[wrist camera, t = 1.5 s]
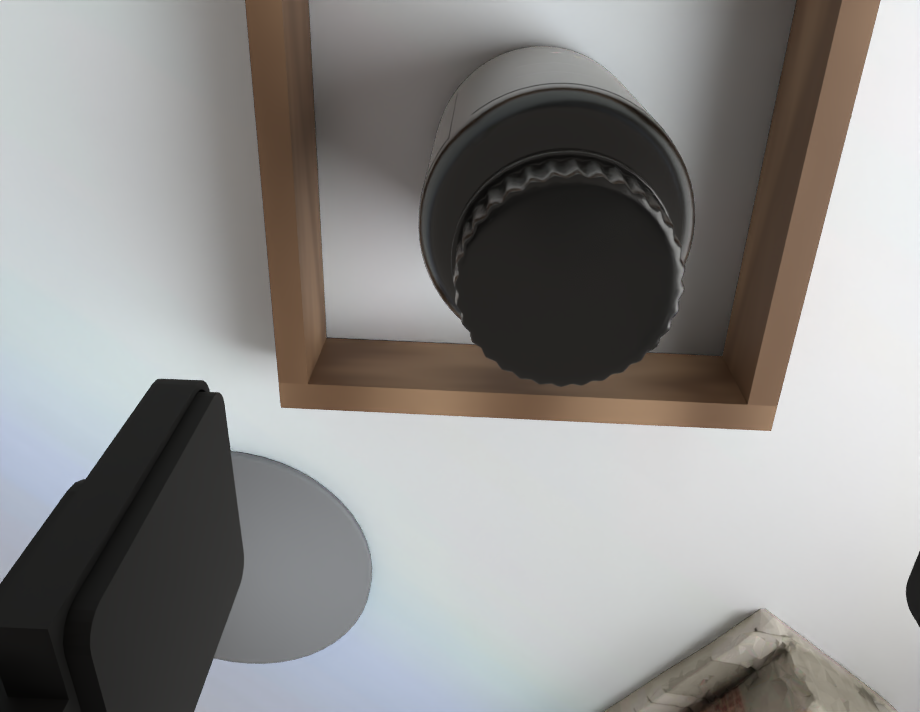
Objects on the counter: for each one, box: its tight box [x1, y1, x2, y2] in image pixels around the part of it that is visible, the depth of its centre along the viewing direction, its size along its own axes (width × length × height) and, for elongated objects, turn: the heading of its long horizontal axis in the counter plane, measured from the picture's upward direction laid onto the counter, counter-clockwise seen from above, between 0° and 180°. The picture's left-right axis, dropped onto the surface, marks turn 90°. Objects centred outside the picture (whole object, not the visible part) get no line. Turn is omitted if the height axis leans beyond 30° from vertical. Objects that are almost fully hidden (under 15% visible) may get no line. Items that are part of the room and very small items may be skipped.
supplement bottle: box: [419, 46, 695, 387], centre depth 22 cm, size 7×7×12 cm
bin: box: [245, 0, 880, 431], centre depth 26 cm, size 17×17×4 cm
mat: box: [214, 452, 372, 664], centre depth 36 cm, size 12×12×1 cm
